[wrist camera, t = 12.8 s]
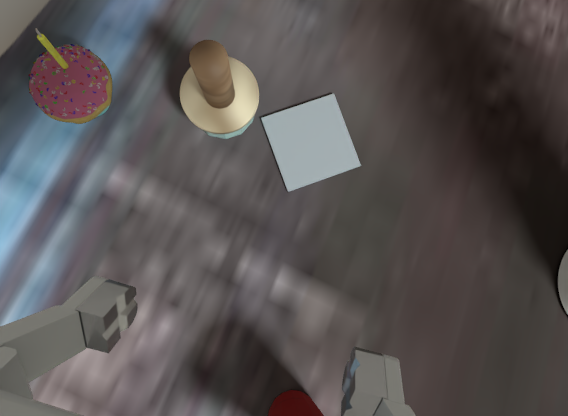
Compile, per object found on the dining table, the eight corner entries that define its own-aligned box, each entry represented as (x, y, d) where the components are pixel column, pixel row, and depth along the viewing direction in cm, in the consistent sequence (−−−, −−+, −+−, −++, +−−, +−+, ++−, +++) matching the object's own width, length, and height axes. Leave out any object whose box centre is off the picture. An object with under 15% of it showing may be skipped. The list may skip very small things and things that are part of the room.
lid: (243, 49, 40) (238, -2, 31) (269, 120, 39) (272, 89, 31) (170, 72, 39) (144, 27, 30) (196, 144, 39) (177, 120, 30)
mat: (333, 94, 44) (333, 93, 43) (359, 166, 43) (360, 165, 43) (261, 118, 43) (261, 117, 42) (287, 191, 43) (288, 191, 42)
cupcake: (77, 55, 42) (3, -14, 30) (139, 85, 42) (91, 28, 30) (44, 115, 41) (-45, 69, 29) (108, 145, 41) (45, 112, 29)
